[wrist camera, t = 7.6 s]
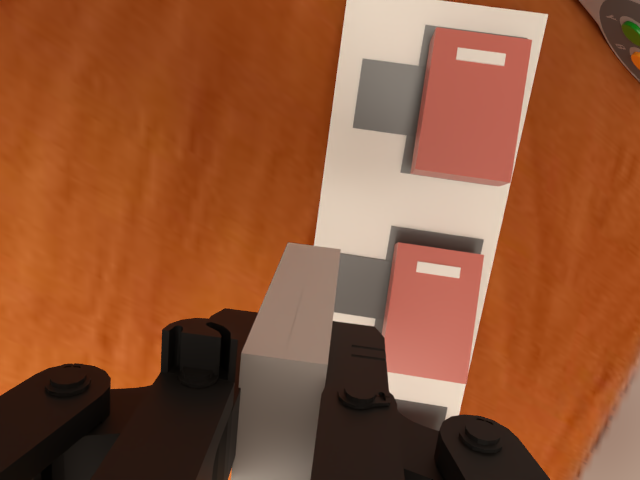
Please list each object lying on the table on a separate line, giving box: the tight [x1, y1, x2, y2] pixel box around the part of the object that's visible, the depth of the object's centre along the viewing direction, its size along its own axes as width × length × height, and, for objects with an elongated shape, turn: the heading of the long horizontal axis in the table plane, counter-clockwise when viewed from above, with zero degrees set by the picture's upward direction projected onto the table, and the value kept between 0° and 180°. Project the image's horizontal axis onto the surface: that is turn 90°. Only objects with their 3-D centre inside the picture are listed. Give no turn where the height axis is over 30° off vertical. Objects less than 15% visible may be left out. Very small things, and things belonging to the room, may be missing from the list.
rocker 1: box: [410, 27, 532, 186], centre depth 25 cm, size 6×4×2 cm, turn 174°
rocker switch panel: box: [314, 0, 548, 431], centre depth 31 cm, size 28×9×5 cm, turn 173°
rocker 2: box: [382, 242, 484, 384], centre depth 27 cm, size 6×4×2 cm, turn 174°
